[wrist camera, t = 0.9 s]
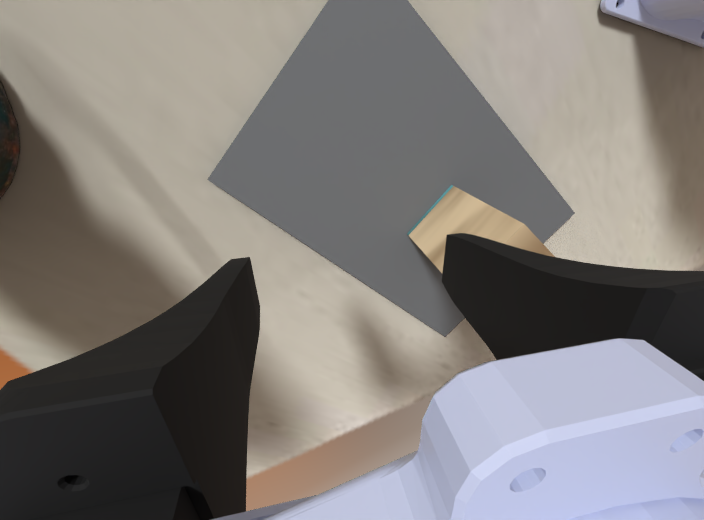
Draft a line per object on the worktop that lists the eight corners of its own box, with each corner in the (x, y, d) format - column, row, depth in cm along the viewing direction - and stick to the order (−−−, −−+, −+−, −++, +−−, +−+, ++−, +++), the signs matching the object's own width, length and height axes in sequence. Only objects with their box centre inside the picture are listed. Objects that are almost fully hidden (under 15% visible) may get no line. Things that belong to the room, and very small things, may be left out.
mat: (569, 211, 25) (574, 213, 25) (442, 333, 29) (445, 336, 28) (362, -50, 16) (365, -54, 15) (209, 177, 19) (207, 179, 19)
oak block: (488, 221, 24) (568, 271, 17) (445, 265, 25) (505, 327, 18) (451, 184, 22) (524, 224, 15) (406, 233, 23) (457, 290, 16)
